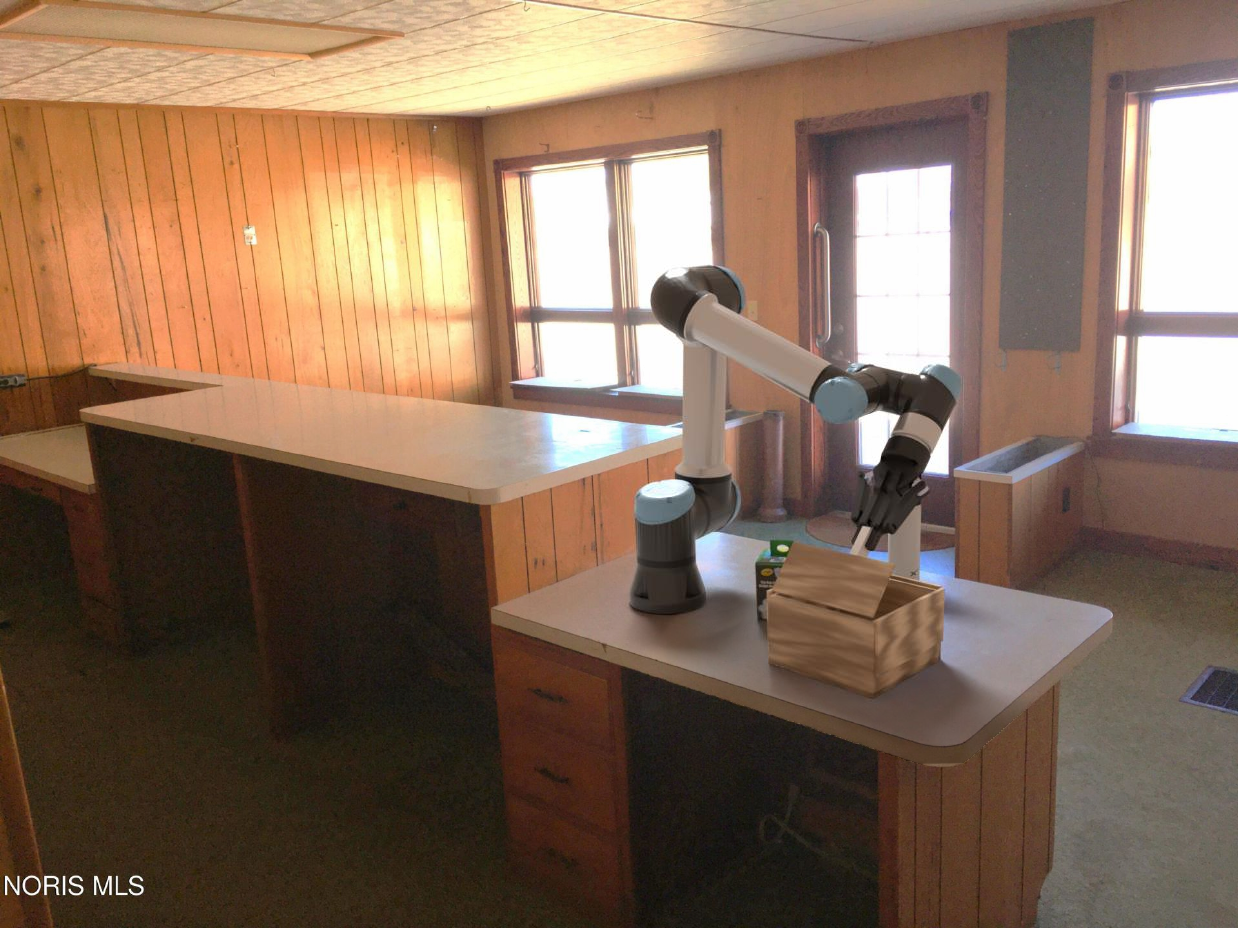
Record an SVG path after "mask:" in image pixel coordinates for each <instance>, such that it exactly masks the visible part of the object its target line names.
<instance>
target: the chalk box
mask: <svg viewBox="0 0 1238 928" xmlns="http://www.w3.org/2000/svg"><path fill="white" fill-rule="evenodd" d="M793 541H794V540H791V539H790V540H789V539H770V540H769V548H764V549H763V551H761V553H760V554H759V556H758V558H757V559H756V561H755V564H754V569H755V570H754V571H755V574H754V575H755V597H756V598H755V599H756V601H755V603H756V604H755V605H756V619H757V620H758V619H759V620H763V621H764V620H766V621H767V590H770V589H772V588H773V586H774V584H775V582H776V580H777V577H778V575H779V573H780V571H781V568H782V566H783V564H784V562H785V559H786V557H787V555H788V553H789V550H790V548H791V546H792V544H793ZM779 545H785V546H787V547H788V548H789V549H777V547H778V546H779Z"/></svg>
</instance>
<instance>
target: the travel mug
mask: <svg viewBox="0 0 1238 928" xmlns="http://www.w3.org/2000/svg"><path fill="white" fill-rule="evenodd" d="M908 491H909V490H908ZM908 491H907V492H908ZM907 492H906V493H907ZM906 493H905V494H906ZM904 496H905V495H904ZM921 519H922V499H921V500H920V501H919V502H918V504H917V505H916V506H915V508H914V509H913V510H912V512H911V513H910V514H909V516H908V517H907V518H906V520H905V521H904V522H903V523H902V525H901V526H900V527H899V529H898V530H897V531H896V533H895V534H892V535H891V534H889V533H887V534H888V537H887V539H888V540H887V562H889V563H893V564H894V565H895V566H894V569H893V571H892V574H894V575H898V576H902V577H907V578H911V579H915V580H920V574H921V573H920V571H921V569H920V568H921V565H920V564H921V532H922V531H921V530H922V526H921V523H922V521H921Z"/></svg>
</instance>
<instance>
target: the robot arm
mask: <svg viewBox="0 0 1238 928" xmlns="http://www.w3.org/2000/svg"><path fill="white" fill-rule="evenodd" d="M746 298H747V297H746V291H745V287H744V284H743V282H742V280H741V279H740V277H739V276H737V274H736V273H735V272H733V271H732V270H731V269H730V268H727V267H725V266H722V265H721V266H720V265H711V264H708V265H707V264H705V265H696V266H695V265H694V266H687V267H685V266H684V267H682V266H681V267H675V268H672V269H669V270H667V271H666V272H664V273H663V274H662V275H660V276H659V277H657V280H656V281H655V283H654V284H653V286H652V288H651V292H650V298H649V300H650V302H649V303H650V308H651V312H652V314H653V316H654V317H655V319H656V321H657V322H659V324H660V325H661V326H662V327H664V329H666V330H668V331H670V332H671V333H673V334H675V337H676V338H677V339H678V340H679V341H680V342H681V343H682V347H683V348H682V349H683V350H682V431H681V432H682V433H681V434H682V437H681V438H682V439H681V443H682V445H681V447H682V450H681V452H682V453H681V455H682V456H681V458H682V459H681V461H680V463H679V464H677V466H675V468H674V479H672V478H671V479H663V480H660V481H653V482H650V483H647V484H645V485H643V486H642V487H641V488H639V490H637V492H636V493H635V495H634V496H635V497H634V507H633V515H634V521H635V525H634V526H635V544H636V545H635V547H636V550H635V551H636V567H635V570H634V574H633V577H632V580H631V584H630V588H629V593H628V594H629V595H628V596H629V598H628V599H629V605H630V606H631V607H632V608H633V609H635V610H637V611H640V612H642V613H643V612H644V613H648V614H656V615H657V614H658V615H671V614H673V615H674V614H683V613H688V612H691V611H694V610H697V609H699V608H701V607H702V606H704V605H705V604H706V601H707V595H706V594H707V589H706V586H705V584H704V581H703V578H702V576H701V572H700V569H699V567H698V564H697V551H696V548H697V547H696V546H697V545H696V542H697V540H699V539H701V538H704V537H705V536H707V535H710V534H712V533H716V532H718V531H721V530H723V529H725V527H726V526H727V525H729V524H731V523H732V522H733V520H734V519H736V517H737V515H738V514H739V510H740V507H741V501H742V497H741V495H742V494H741V491H740V488H739V485H738V484H736V483H735V479H734V478H733V477H732V473H733V472H732V467H730V466H729V465H728V463H726V461H725V453H726V452H725V451H726V450H725V446H726V445H725V444H726V441H725V439H726V399H727V397H726V394H727V391H726V390H727V358H729V359H730V360H733V361H735V362H736V363H738V364H740V365H742V366H744V367H745V368H747V369H749V370H750V371H752V372H754V373H756V374H758V375H760V376H762V377H763V378H765V379H767V380H769V381H770V382H772V383H774V384H775V385H778V386H779V387H781V388H783V389H784V390H787V391H788V392H790V393H792V394H794V395H795V396H797V397H799V398H801V399H802V400H804V401H806V402H808V403H810V404H811V405H814V406H815V407H814V408H815V410H816V412H817V413H818V415H819V416H820V418H821V419H823V420H824V421H826V422H828V423H830V424H835V425H838V424H848V423H851V422H854V421H856V420H858V419H860V418H862V417H865V416H867V415H870V414H873V413H876V412H882V413H883V412H884V413H889V414H892V415H896V416H899V417H898V419H897V421H896V423H895V425H894V427H893V429H892V431H891V433H890V437H889V438H888V439H887V442H886V443H885V445H884V447H883V449H882V452H881V455H880V459H879V462H878V463H877V464H876V465H875V466H874V467H873V469H872V471H869V472H864V471H859V472H857V475H856V477H857V481H858V485H857V488H856V492H855V498H854V500H853V501H854V502H853V505H852V510H851V513H850V520H851V522H852V523H853V524H854V526H856V530H855V532H854V535H853V537H852V538H851V545H852V548H851V549H850V552H849V553H848V554H852V555H857V556H861V557H866V558H868V556H869V555H870V552H874V551H875V550H876V548H877V546H878V544H879V542H880V540H881V538H882V536H884V535H885V534H888V533H889V534H891V535H892V534H895V533H896V531H897V530H898V529H899V527H900V526H901V525H902V523H903V522H904V521H905V520H906V518H907V517H908V516H909V514H910V513H911V512H912V510H913V509H914V508H915V506H916V505H917V504H918V502H919V501H920V500H921V501H922V500H923V499H924V498H925V497H926V496H928V495H929V494H930V493H931V490H930V488H929V486H928V485H927V483H926V482H925V480H922V479H923V478H922V477H923V476H922V475H923V474H924V473H925V470H926V468H927V466H928V464H929V462H930V460H931V456H932V454H933V453H934V451H935V449H936V446H937V444H938V442H939V440H940V438H941V435H942V434H943V431H944V429H945V427H946V424H947V423H948V421H949V419H950V417H951V416H952V415H951V414H952V413H953V411H954V409H955V407H956V406H957V403H958V402H957V401H958V400H959V396H960V395H961V391H962V389H963V383H964V382H963V380H962V378H961V376H960V374H959V373H957V371H955V370H954V369H953V368H951V367H949V366H946V365H945V364H940V363H934V364H927V365H926V366H924V367H923V368H922V369H921V371H920V372H919V373H918V374H915V373H909V372H903V371H899V370H895V369H890V368H887V367H886V368H885V367H881V366H877V365H874V364H872V363H868V364H867V363H861V362H855V363H852V364H850V365H849V366H848V368H847V369H846V370H844V369H842V368H841V367H838V366H836V365H835V364H833V363H832V362H829V361H827V360H826V359H823V358H822V357H821V356H818V355H816V354H815V353H812V352H810V351H808V350H807V349H805V348H803V347H801V346H799V345H797V344H796V343H793V342H792V341H789V339H787V338H784V337H783V336H782V335H781V336H780V335H779V334H777V333H775V332H774V331H771V330H770V329H767V328H765V327H763V326H762V325H760V324H758V323H756V322H754V321H752V320H750V319H748V318H746V317H745V316H743V315H742V313H743V312H744V309H745V307H746V300H747V299H746ZM874 482H875V483H874ZM873 484H874V485H873ZM872 486H873V490H871V489H872V488H871V487H872ZM908 490H909V491H908ZM871 491H872V494H871ZM907 491H908V492H907ZM906 492H907V493H906ZM905 493H906V494H905ZM904 495H905V496H904Z"/></svg>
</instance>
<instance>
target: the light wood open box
mask: <svg viewBox="0 0 1238 928" xmlns="http://www.w3.org/2000/svg"><path fill="white" fill-rule="evenodd" d="M772 589H773V588H772ZM772 589H770V590H767V620H766V633H767V634H766V640H767V641H766V642H767V643H768V664H769V663H771V664H770V665H772V664H773V665H772V666H775V665H777V666H776V667H778V666H779V667H778V668H781V667H783V668H782V669H784V668H785V669H784V670H787V669H788V670H787V671H789V670H792V671H794V672H793V673H795V672H796V674H798V673H799V675H801V674H802V675H801V676H804V677H807V678H811V679H814V680H817V681H819V682H823V683H825V684H829V685H832V686H834V687H837V688H841V689H843V690H846V691H848V692H852V693H855V694H858V695H860V696H861V695H862V696H863V697H868V698H870V699H875V698H877V697H879V696H880V695H882V694H883V693H885V692H887V691H888V690H890V689H892V688H894V687H896V686H897V685H899V684H901V683H902V682H904V681H906V680H907V679H908V678H911V677H912V676H914V675H916V674H918V673H919V672H921V671H922V670H924V669H926V668H928V667H930V666H932V665H933V664H935V663H937V662H938V661H940V660H941V656H942V655H941V654H942V642H943V641H944V629H945V628H944V627H945V626H944V625H945V623H944V622H945V591H946V590H945V589H946V588H944V587H943V585H941V584H936V583H932V582H928V581H924V580H920V579H919V580H915V579H911V578H907V577H902V576H898V575H894V574H891V576H890V578H889V581H888V583H887V586H886V588H885V591H884V593H883V596H882V598H881V600H880V603H879V605H878V608H877V610H876V613H875V615H874V617H873V618H870V617H867V616H863V615H859V614H856V613H852V612H848V611H844V610H841V609H837V608H833V607H830V606H826V605H822V604H819V603H815V602H811V601H808V600H804V599H800V598H796V597H793V596H789V595H785V594H782V593H778V592H774V591H773V590H772ZM792 671H791V672H792Z"/></svg>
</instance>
